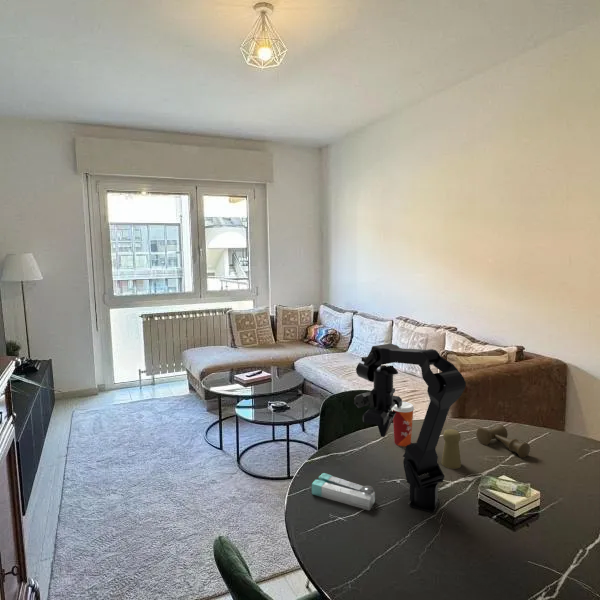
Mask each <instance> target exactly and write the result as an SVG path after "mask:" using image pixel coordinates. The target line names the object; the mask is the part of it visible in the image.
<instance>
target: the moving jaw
mask: <svg viewBox="0 0 600 600" xmlns="http://www.w3.org/2000/svg"><path fill="white" fill-rule="evenodd" d="M318 480H320V481H324V482H326V483H329V484H333V485H337V486H340V487H344V488H348V489H352V490H355V491H359V492H362V487H363V486H364V485H361V484H358V483H355V482H352V481H348V480H346V479H342V478H339V477H336V476H333V475H331V474H330V473H329V474H328V473H327V472H326V473H325V472H323V473H321V475H319V476H318Z"/></svg>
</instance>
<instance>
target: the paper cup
mask: <svg viewBox="0 0 600 600" xmlns="http://www.w3.org/2000/svg"><path fill="white" fill-rule="evenodd" d="M392 411H394V412H396V414H395V416H394V418H393V420H392V422H393V425H392V426H393V439H394V440H393V441H394V442H393V443H394V445H396V446H398V447H407V445H409V444H412V435H413V432H412V431H413V420H414V411H415V408H414V405H413V404H412V403H410V402H407V401H402V406H401V407H400V408H398V407H397V404H395V406H394V407H393V408H392Z"/></svg>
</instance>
